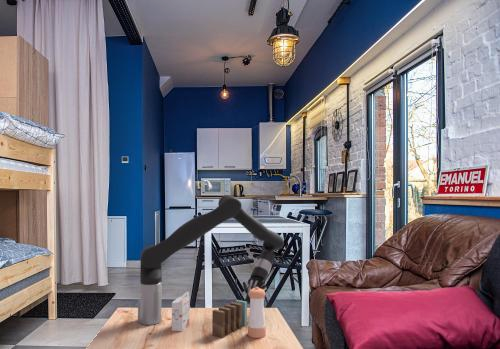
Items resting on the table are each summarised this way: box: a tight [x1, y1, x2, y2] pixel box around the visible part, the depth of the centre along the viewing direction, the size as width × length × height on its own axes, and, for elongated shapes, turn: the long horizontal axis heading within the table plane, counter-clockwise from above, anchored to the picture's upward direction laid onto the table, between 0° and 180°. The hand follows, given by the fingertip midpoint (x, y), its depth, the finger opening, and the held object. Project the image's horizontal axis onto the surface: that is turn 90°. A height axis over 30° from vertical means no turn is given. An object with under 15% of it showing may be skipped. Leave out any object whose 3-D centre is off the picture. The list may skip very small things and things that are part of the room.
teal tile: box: [234, 299, 248, 327], centre depth 167 cm, size 2×5×10 cm, turn 57°
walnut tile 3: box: [223, 304, 237, 333], centre depth 160 cm, size 2×5×10 cm, turn 57°
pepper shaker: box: [247, 287, 267, 339], centre depth 155 cm, size 7×7×19 cm
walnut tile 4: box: [218, 306, 231, 336], centre depth 157 cm, size 2×5×10 cm, turn 57°
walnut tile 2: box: [229, 301, 243, 330], centre depth 164 cm, size 2×5×10 cm, turn 57°
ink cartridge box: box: [171, 290, 191, 332], centre depth 163 cm, size 9×5×15 cm, turn 168°
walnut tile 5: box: [211, 309, 226, 339], centre depth 154 cm, size 2×5×10 cm, turn 57°
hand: (247, 302), depth 171 cm, fingers closed
